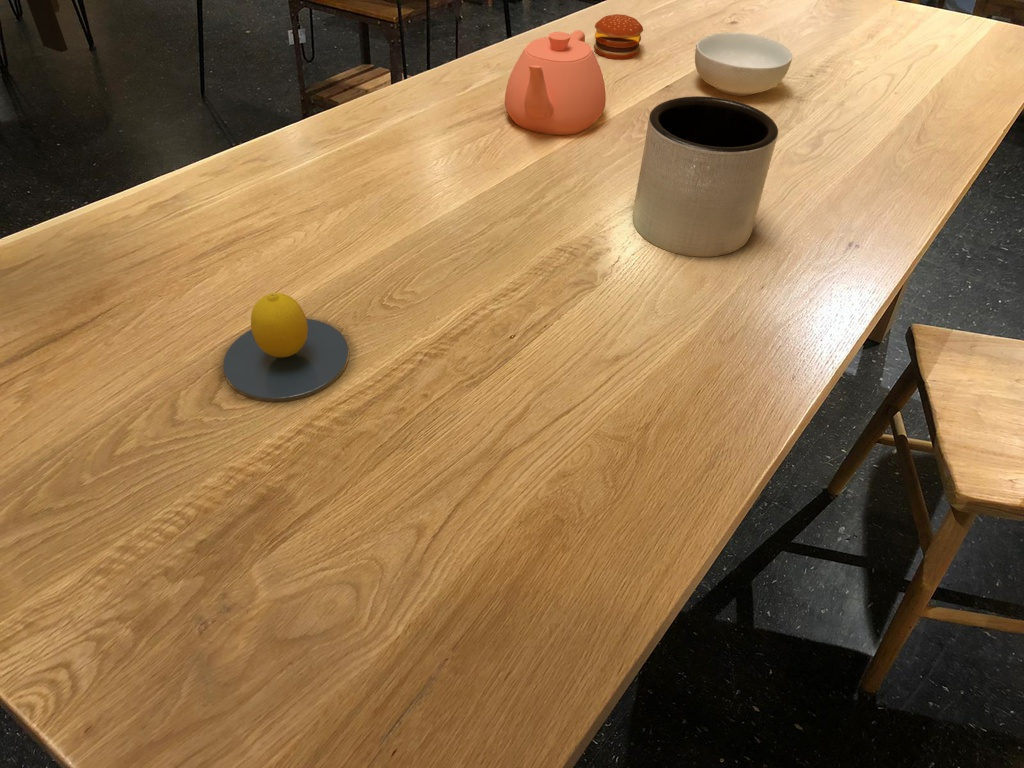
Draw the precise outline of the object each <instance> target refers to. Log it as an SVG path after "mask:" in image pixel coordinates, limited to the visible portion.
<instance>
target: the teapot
mask: <svg viewBox="0 0 1024 768" xmlns="http://www.w3.org/2000/svg"><path fill="white" fill-rule="evenodd" d="M585 34H586V33H585V32H584V31H583V30H574V31H573V32H571V34H569V33H567V32H564V31H553V32H550V33H549V34H548V36H544V37H540V38H536V39H534V40H532V41H530V42H529V43H528V44H527V45H526V46H525V47H524V49H523V51H522V52H521V54H520V55H519V57H518V59H517V61H516V62H515V63H514V66H513V68H512V70H511V72H510V74H509V78H508V80H507V83H506V88H505V94H504V107H505V110H506V112H507V114H508V115H509V116H510V118H511V119H512V121H513V122H514V123H515V124H516V125H517V126H519V127H521V128H523V129H525V130H528V131H530V132H531V131H532V132H535V133H540V134H546V135H551V136H552V135H553V136H569V135H576V134H578V133H581V132H583V131H586V130H587V129H589V128H590V127H591V126H592V125H593V124H595V122H597V120H598V119H600V117H601V116H602V115H603V112H604V110H605V108H606V103H607V102H606V101H607V98H606V97H607V96H606V85H605V80H604V75H603V71H602V69H601V66H600V63H599V61H598V58H597V57H596V54H595V51H593V50H594V49H593V48H592V47H591V45H590V44H589V43H587V42H586V35H585Z"/></svg>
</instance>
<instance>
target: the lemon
mask: <svg viewBox="0 0 1024 768" xmlns="http://www.w3.org/2000/svg"><path fill="white" fill-rule="evenodd" d="M306 319H307V318H306V314H305V312H304V310H303V308H302V307H301V305H300V304H299V302H298V301H297V300H296V299H295V298H293V297H292V296H290V295H287V294H285V293H281V292H273V293H268V294H265V295H264V296H262V297H261V298H259V299H258V301H257V302H255V304H254V305H253V308H252V309H251V314H250V330H252V333H253V336H254V339H255V341H256V343H257V345H258V346H259V347H260V348H261V349H262V350H263V351H264V352H265V353H267V354H269V355H271V356H274V357H288V356H291V355H294V354H295V353H297V352H298V351H299V350H300V349H301V348H302V347H303V345H304V344H305V342H306V339H307V333H308V326H307V321H306Z"/></svg>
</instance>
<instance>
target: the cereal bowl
mask: <svg viewBox="0 0 1024 768" xmlns="http://www.w3.org/2000/svg"><path fill="white" fill-rule="evenodd" d="M694 52H695V53H694V64H695V69H696V72H697V73H698V75H699V76H700V78H701V79H702V80H703V81H704V82H705V83H706V84H708V85H710V86H712V87H714V88H715V89H716V90H717V91H719V92H721V93H722V94H725V95H730V96H736V97H746V96H751V95H754V94H759V93H763V92H766V91H769V90H772V89H774V88H775V87H776V86H777V85H778V84H780V83H781V82H782V81H783V80H784V79H785V77H786V76H787V73H788V72H789V69H790V67H791V63H792V61H793V54H792V51H791V50H790V49H789V48H788V47H787V46H786V45H784V43H782V42H779V41H777V40H775V39H772V38H769V37H766V36H763V35H759V34H754V33H747V32H718V33H713V34H708V35H706V36H704V37H702V38H700V39H699V40H698V41H697V43H696V45H695V50H694Z"/></svg>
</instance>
